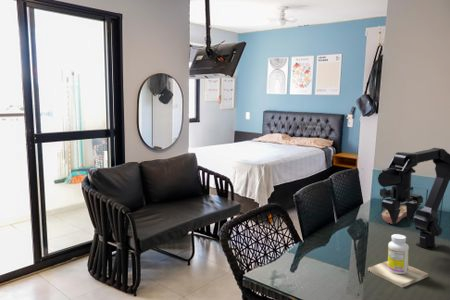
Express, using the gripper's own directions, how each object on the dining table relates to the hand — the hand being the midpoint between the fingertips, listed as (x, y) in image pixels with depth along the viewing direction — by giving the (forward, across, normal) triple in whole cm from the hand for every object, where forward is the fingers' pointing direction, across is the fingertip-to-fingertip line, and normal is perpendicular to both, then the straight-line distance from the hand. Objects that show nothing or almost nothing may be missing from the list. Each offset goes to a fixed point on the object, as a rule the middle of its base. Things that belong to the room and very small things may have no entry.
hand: (401, 221), depth 144 cm
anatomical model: (+13, -34, -27) cm, 45 cm away
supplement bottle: (+12, +17, +11) cm, 23 cm away
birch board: (+13, +17, +11) cm, 24 cm away
